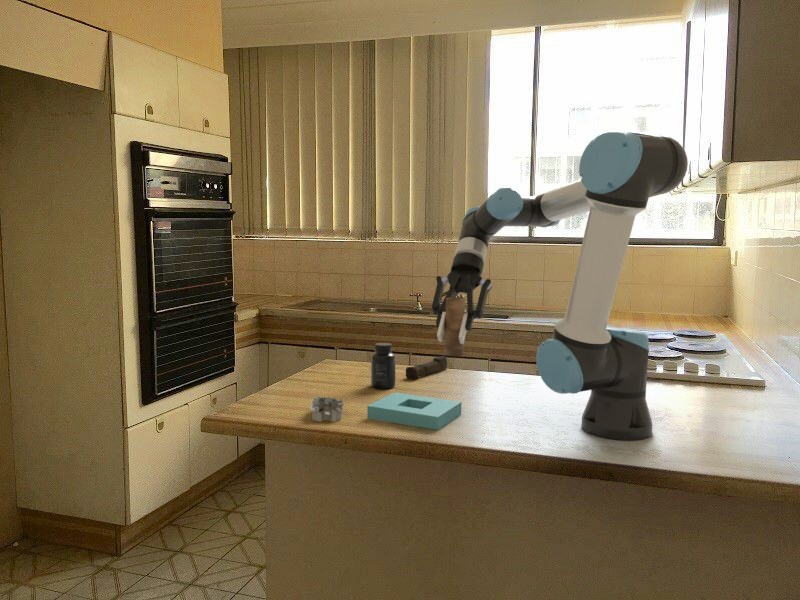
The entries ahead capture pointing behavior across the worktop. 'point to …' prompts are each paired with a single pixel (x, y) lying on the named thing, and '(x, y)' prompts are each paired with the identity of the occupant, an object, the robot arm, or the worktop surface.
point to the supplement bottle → (383, 366)
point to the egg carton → (326, 409)
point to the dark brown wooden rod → (427, 368)
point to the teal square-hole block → (414, 410)
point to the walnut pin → (454, 326)
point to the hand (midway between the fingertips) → (450, 339)
